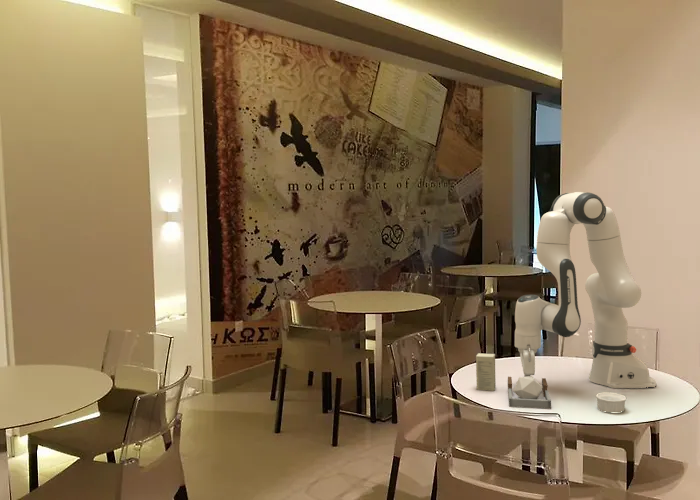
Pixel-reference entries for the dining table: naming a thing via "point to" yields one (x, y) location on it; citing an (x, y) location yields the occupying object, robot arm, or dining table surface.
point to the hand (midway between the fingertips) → (527, 380)
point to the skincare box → (485, 371)
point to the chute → (544, 384)
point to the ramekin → (610, 402)
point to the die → (527, 388)
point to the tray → (529, 401)
